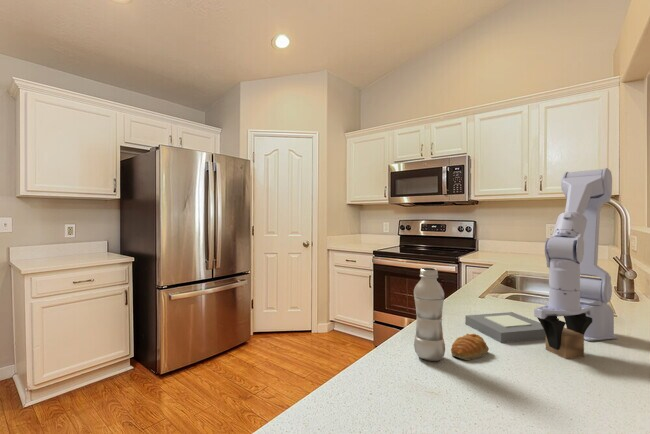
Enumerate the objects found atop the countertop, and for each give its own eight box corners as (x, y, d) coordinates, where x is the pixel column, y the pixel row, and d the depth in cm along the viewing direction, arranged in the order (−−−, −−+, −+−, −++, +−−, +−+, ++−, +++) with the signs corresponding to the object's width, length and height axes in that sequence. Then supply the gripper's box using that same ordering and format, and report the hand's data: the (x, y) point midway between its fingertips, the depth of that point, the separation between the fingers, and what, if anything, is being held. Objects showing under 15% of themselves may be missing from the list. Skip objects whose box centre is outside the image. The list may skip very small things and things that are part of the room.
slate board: (512, 320, 95) (512, 311, 95) (554, 337, 81) (554, 327, 81) (465, 323, 92) (465, 314, 92) (501, 342, 78) (500, 331, 78)
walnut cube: (563, 347, 75) (562, 327, 75) (583, 356, 70) (583, 334, 70) (545, 349, 74) (545, 328, 74) (565, 358, 69) (565, 336, 69)
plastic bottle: (442, 367, 65) (441, 272, 65) (410, 360, 69) (409, 269, 69) (448, 356, 71) (447, 268, 71) (418, 349, 74) (417, 265, 74)
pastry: (472, 365, 67) (472, 348, 67) (443, 355, 72) (442, 339, 72) (490, 353, 73) (490, 336, 73) (462, 344, 78) (461, 329, 78)
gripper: (573, 283, 78) (573, 337, 78) (523, 286, 75) (523, 342, 75) (603, 289, 71) (603, 349, 71) (549, 293, 68) (550, 355, 68)
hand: (564, 346), depth 72 cm, fingers closed on walnut cube, 5 cm apart
